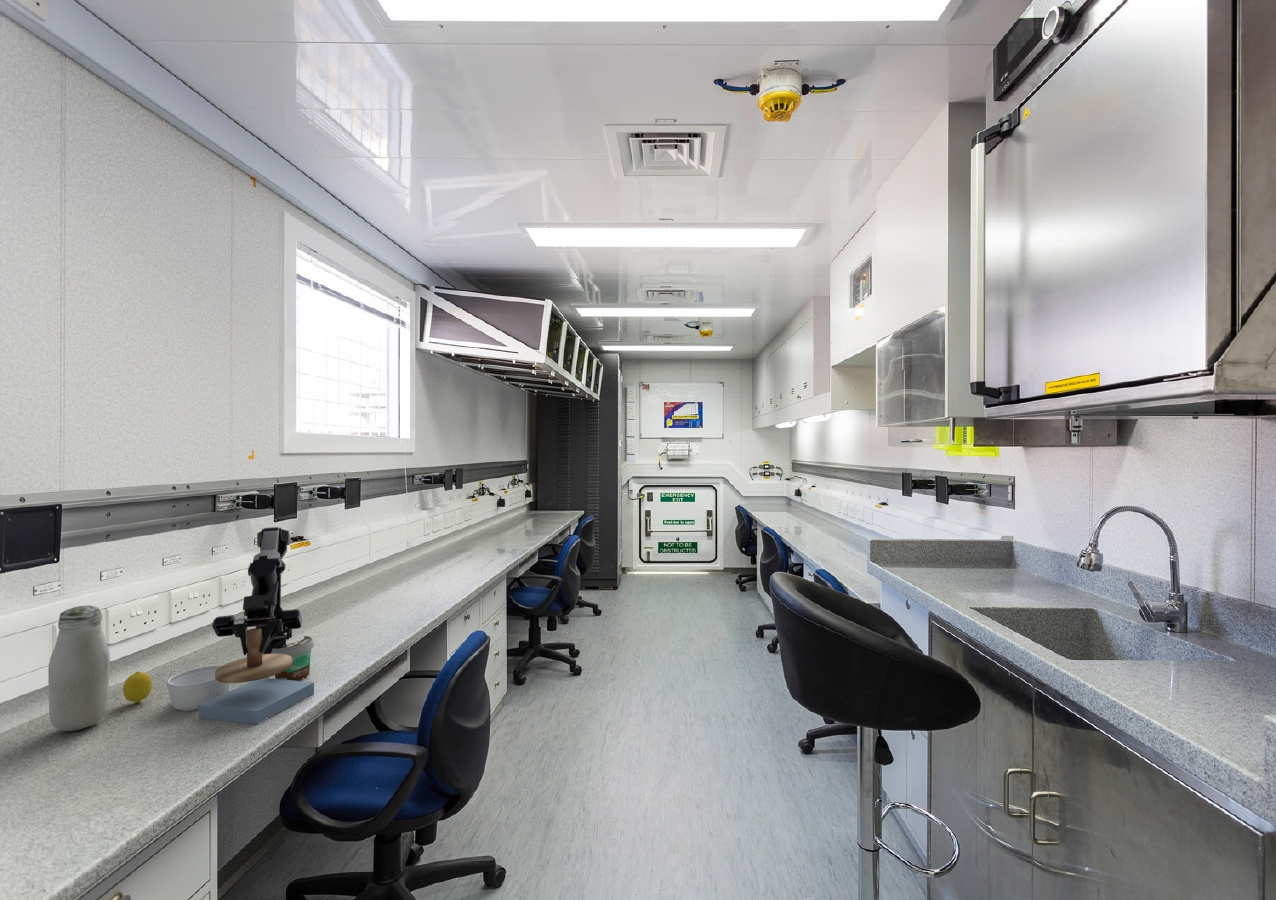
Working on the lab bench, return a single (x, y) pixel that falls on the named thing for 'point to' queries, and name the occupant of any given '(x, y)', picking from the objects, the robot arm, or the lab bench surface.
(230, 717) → the mat
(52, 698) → the glass bottle
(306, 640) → the food container
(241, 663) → the lid
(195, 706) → the ramekin
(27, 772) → the lab bench surface
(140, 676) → the lemon
